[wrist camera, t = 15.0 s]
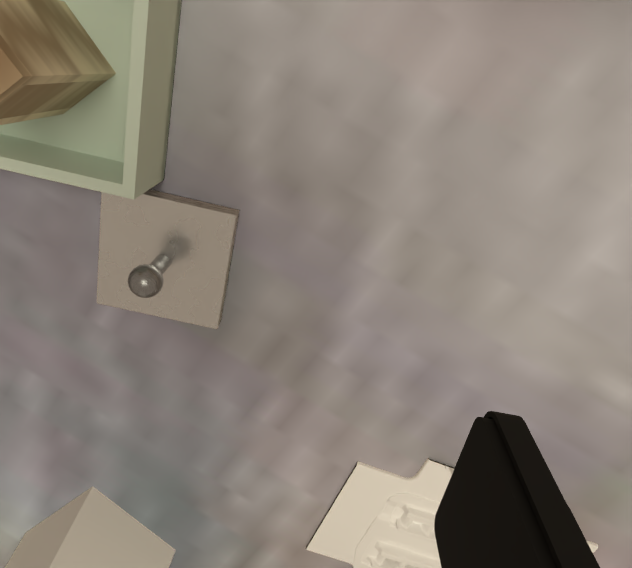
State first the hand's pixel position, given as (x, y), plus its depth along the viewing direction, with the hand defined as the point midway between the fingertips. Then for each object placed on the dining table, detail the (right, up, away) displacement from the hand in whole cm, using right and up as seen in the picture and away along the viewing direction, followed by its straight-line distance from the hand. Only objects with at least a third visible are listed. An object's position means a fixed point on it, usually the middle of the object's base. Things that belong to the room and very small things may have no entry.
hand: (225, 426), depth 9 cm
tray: (+16, -25, +44) cm, 53 cm away
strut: (-15, +18, +23) cm, 33 cm away
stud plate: (-10, +5, +30) cm, 32 cm away
